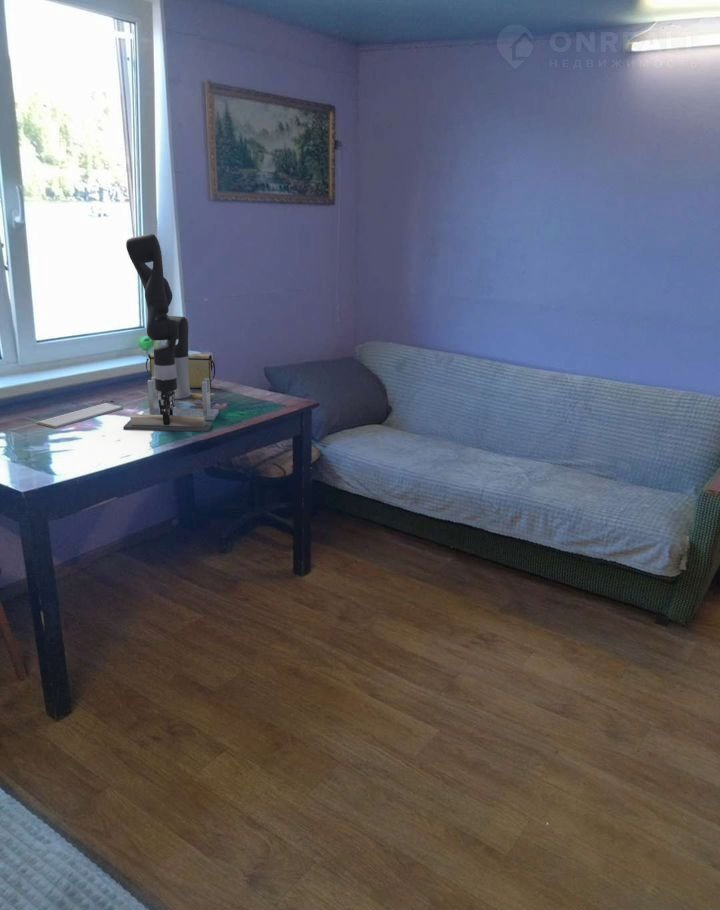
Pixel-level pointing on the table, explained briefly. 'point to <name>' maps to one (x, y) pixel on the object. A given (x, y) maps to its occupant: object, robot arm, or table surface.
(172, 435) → the table surface
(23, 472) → the table surface
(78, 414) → the baseboard molding
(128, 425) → the rubber mat
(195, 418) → the birch rail
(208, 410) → the hook rack
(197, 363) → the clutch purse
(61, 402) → the table surface
